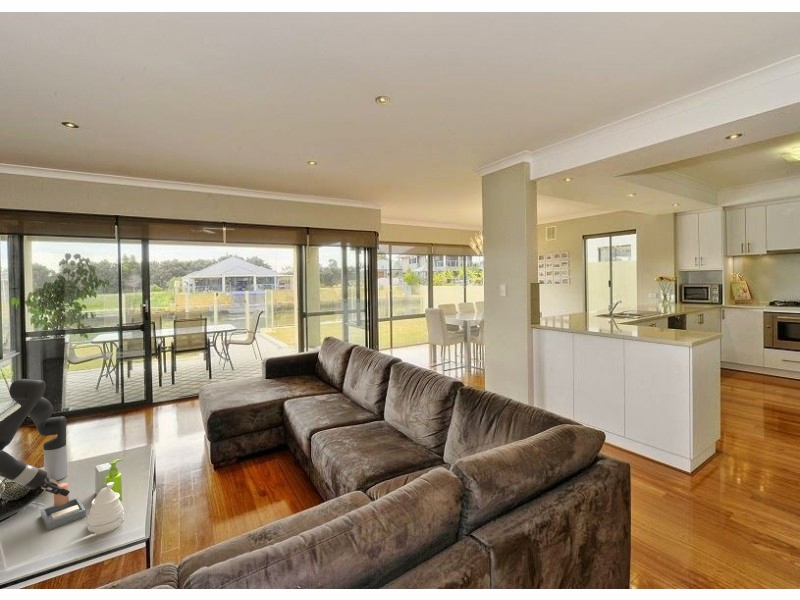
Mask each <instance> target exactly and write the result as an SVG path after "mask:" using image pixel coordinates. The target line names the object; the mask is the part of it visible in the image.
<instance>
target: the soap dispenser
mask: <svg viewBox="0 0 800 600" xmlns="http://www.w3.org/2000/svg"><path fill="white" fill-rule="evenodd" d="M123 460H124V459H122V458H118V459H117V458H116V459H114V460H112V461H110V462H108V463H109V464H110V465H111V468H110V469H109V475H108V476H107V477H106V487H107V484H108V483H110V482H114V485H113V487H112V488H110V489H112V490H113V491H114V492H116V493H119V494H120V497H119V500H120V501H121V502H122V500H123V491H122V490H123V489H122V488H123V487H122V473H121V472H119V468H118V466H116V463H119V462H121V461H123ZM107 488H108V487H107Z"/></svg>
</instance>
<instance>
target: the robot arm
mask: <svg viewBox="0 0 800 600" xmlns="http://www.w3.org/2000/svg"><path fill="white" fill-rule="evenodd" d="M46 386H47V384H46V381H44V380H43V379H41V380H40V379H30V378H29V379H28V378H19V379H16V380H15V381H13V382H12V383H11V384H10V386H9V391H8V392H9V396H10V398H11V399H12V400H13V401H14V402H16V403H17V404H18V405H19V406H20V407H18V409H16V410H14V411H13V412H12V413H10V414H8V415H7V416H6V417H4V418H3V419H2V420H1V421H0V477H1V478H4V479H7V480H8V481H9V480H10V481H11V482H14V483H16V484H18V485H20V486H22V487H25V488H28V489H31V490H34V489H37V488H38V487H40V488H41V489H42V490H44V491H45V492H47V493H51V494H53V495H54V494H56V495H57V494H61V495H63V496H67V495H68V496H69V494H70V491H71V490H69V489H68V490H66V489H63V488H62V487H59V486H58V484H61V483H60V482H59V481H61V480H63V479H64V478H67V476H68V474H69V473H68V454H67V453H68V452H67V451H68V450H67V426H68V425H67V418H66V416H62V415H61V416H54V417H51V416H52V414H53V413H54V407H53V405H52V403H51V402H50V400H48V399H47V398H46V397H44V394H45V391H46ZM27 417H28V418H30V419H31V421H33V423H34V425H35V426H36V430H37V431H38V434H39V435H40V436H42V437H48V436H54V435H55V436H56V435H57V436H56V437H54V438H51V439H50V440H47V441H45V442H44V443H43V446H42V447H43V448H42V449H43V467H44V468H43V469H44V470H43V469H41V468H38V467H36V466H35V465H31V464H28V463H25V462H23V461H21V460H18V459H16V458H15V457H14V456H12V455H11V454H9V452H6V451H4V449H5V448H6V447H7V446H9V445H10V444H11V442H12V441H13V439H14V438H15V436H16V434H17V433H18V430H19V428H20V427H21V425H22V424H23V422H24V421H25V420H26V418H27ZM56 489H58V490H57V491H55V490H56Z"/></svg>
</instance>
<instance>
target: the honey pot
mask: <svg viewBox="0 0 800 600" xmlns="http://www.w3.org/2000/svg"><path fill="white" fill-rule="evenodd" d="M113 485H114V482H110V483H108V484H107V487H108V488H107V487H106V488H103V489H102V490H101V491H100V492H99V493H98V495H97V494H96V496H95V498H93V500H92V501H91V508H90V510H89V514H88V516H87V520H86V521H87V522H86V523H87V530H88V531H89V532H91V535H101V534H105V533H108V532H112V531H113V530H116V529H117V528H119V527H120V526H122V524H123V523H124V519H125V512H124V511H125V510H124V509H125V508H124V506H123V504H122V501H120V500H119V497H120V494H119V493H116V492H114V491H113V490H112V489H110V488H112V487H113ZM118 526H119V527H118Z"/></svg>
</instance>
